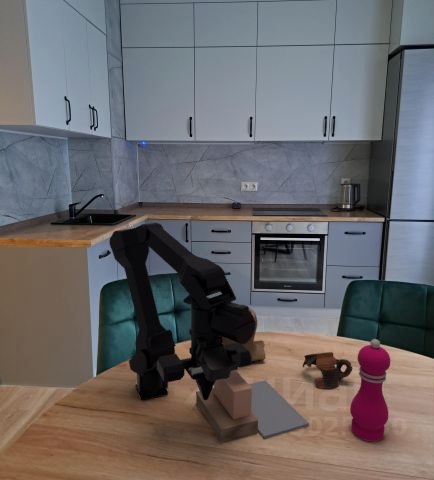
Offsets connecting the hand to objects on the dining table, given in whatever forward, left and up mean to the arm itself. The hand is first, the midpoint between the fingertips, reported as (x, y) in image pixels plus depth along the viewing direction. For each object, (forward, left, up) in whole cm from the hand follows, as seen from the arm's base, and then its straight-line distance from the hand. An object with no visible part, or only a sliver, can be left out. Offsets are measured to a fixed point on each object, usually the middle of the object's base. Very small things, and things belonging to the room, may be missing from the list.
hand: (205, 399), depth 82 cm
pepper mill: (+30, -15, -6) cm, 34 cm away
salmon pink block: (+6, 0, -2) cm, 7 cm away
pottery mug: (+35, +5, -6) cm, 36 cm away
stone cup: (+20, +22, -6) cm, 30 cm away
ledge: (+5, 0, -6) cm, 7 cm away
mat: (+14, 0, -6) cm, 15 cm away
